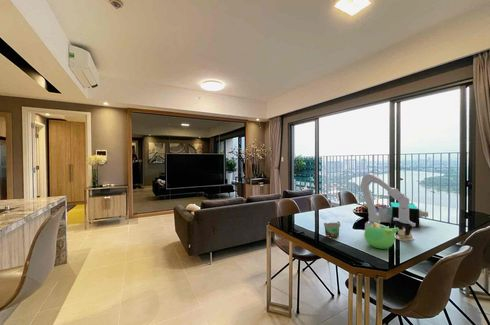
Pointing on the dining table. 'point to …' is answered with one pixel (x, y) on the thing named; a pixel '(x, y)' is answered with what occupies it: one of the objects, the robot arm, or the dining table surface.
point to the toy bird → (380, 235)
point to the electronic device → (413, 213)
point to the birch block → (403, 234)
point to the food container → (332, 229)
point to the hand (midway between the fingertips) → (404, 233)
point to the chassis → (403, 239)
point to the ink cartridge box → (384, 213)
